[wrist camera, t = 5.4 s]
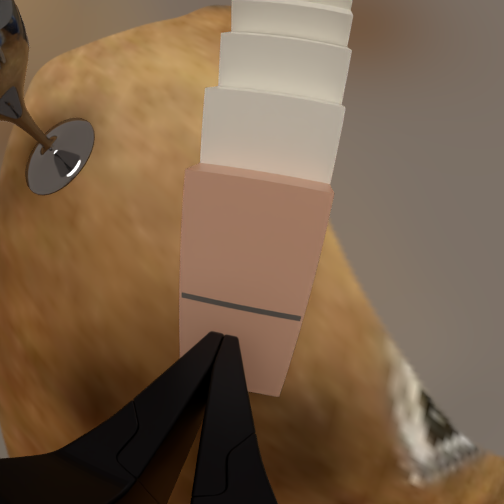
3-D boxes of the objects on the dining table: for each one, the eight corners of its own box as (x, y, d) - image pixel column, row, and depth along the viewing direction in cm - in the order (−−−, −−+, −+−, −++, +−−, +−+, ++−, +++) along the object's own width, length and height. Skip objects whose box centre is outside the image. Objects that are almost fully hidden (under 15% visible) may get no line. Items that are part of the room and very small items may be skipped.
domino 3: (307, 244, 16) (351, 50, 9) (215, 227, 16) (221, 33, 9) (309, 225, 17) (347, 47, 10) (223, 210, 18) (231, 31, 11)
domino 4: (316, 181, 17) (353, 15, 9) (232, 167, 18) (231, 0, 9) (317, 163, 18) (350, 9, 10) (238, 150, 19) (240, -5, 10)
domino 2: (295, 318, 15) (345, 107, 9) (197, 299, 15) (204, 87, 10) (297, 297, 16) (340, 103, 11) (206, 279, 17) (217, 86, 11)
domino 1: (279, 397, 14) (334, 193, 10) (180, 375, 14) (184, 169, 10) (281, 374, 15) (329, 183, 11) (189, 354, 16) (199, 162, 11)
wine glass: (116, 115, 20) (28, -40, 5) (70, 208, 18) (-86, 76, 4) (50, 114, 21) (-35, 3, 6) (9, 192, 19) (-110, 99, 4)
